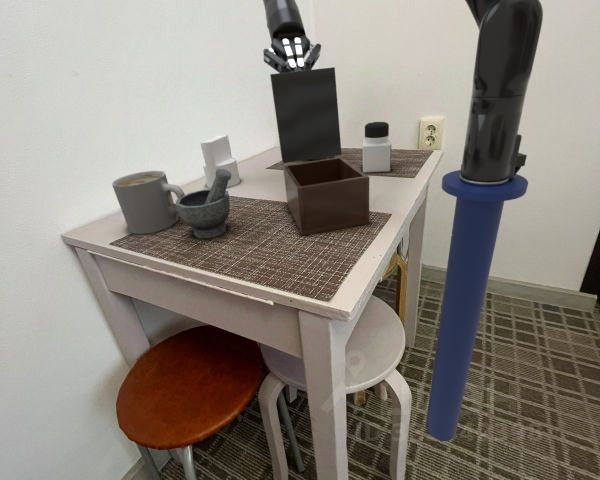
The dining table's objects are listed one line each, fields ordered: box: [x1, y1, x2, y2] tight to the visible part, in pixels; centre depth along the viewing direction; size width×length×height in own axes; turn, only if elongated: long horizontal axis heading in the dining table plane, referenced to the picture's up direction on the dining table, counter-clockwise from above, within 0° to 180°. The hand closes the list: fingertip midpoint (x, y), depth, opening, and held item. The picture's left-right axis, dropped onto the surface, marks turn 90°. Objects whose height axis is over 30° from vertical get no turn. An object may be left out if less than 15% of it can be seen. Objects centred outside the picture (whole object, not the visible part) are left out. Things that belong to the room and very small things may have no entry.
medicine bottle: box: [362, 121, 392, 174], centre depth 87 cm, size 7×7×12 cm
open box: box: [282, 156, 370, 236], centre depth 64 cm, size 16×13×9 cm
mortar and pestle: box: [175, 169, 231, 239], centre depth 61 cm, size 11×9×12 cm
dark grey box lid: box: [269, 66, 342, 164], centre depth 66 cm, size 17×13×1 cm
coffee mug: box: [111, 170, 186, 235], centre depth 67 cm, size 13×10×10 cm
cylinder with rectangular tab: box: [200, 134, 241, 189], centre depth 88 cm, size 9×9×12 cm
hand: (300, 86), depth 67 cm, fingers closed
